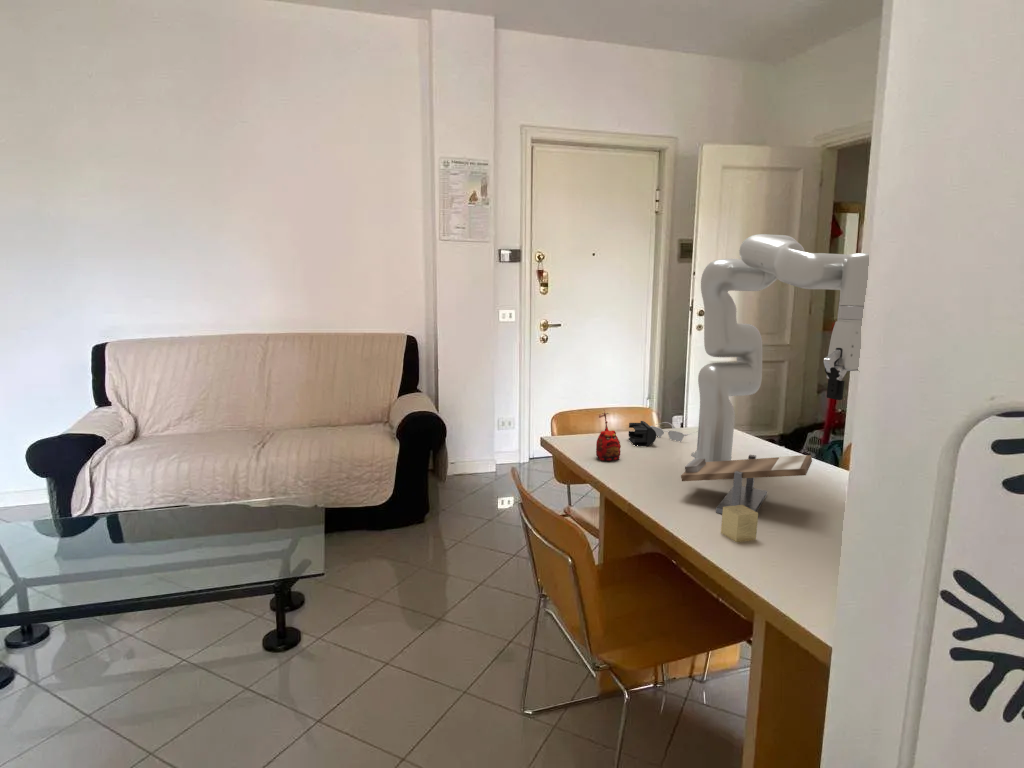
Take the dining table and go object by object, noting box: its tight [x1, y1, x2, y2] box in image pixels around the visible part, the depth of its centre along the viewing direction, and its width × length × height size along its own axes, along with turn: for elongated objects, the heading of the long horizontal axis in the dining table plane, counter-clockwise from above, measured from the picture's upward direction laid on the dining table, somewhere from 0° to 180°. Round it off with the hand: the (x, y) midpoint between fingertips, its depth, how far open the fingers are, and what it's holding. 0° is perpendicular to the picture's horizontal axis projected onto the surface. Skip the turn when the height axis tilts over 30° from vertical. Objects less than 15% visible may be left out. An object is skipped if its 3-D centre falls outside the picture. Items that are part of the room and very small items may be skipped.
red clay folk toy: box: [595, 409, 622, 462], centre depth 181 cm, size 8×7×15 cm
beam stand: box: [715, 454, 768, 515], centre depth 146 cm, size 8×20×10 cm, turn 148°
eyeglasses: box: [649, 421, 698, 443], centre depth 214 cm, size 15×18×4 cm
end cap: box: [628, 420, 657, 447], centre depth 201 cm, size 10×7×7 cm
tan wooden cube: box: [720, 505, 759, 543], centre depth 127 cm, size 5×5×6 cm
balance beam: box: [680, 454, 813, 482], centre depth 145 cm, size 28×14×3 cm, turn 58°
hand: (849, 397), depth 124 cm, fingers open, 9 cm apart
